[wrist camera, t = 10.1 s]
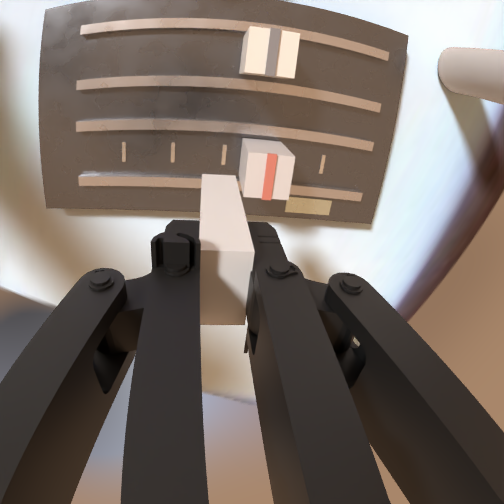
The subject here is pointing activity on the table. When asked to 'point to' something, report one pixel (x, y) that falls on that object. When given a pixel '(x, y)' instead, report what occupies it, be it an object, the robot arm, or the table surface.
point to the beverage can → (473, 72)
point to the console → (212, 105)
